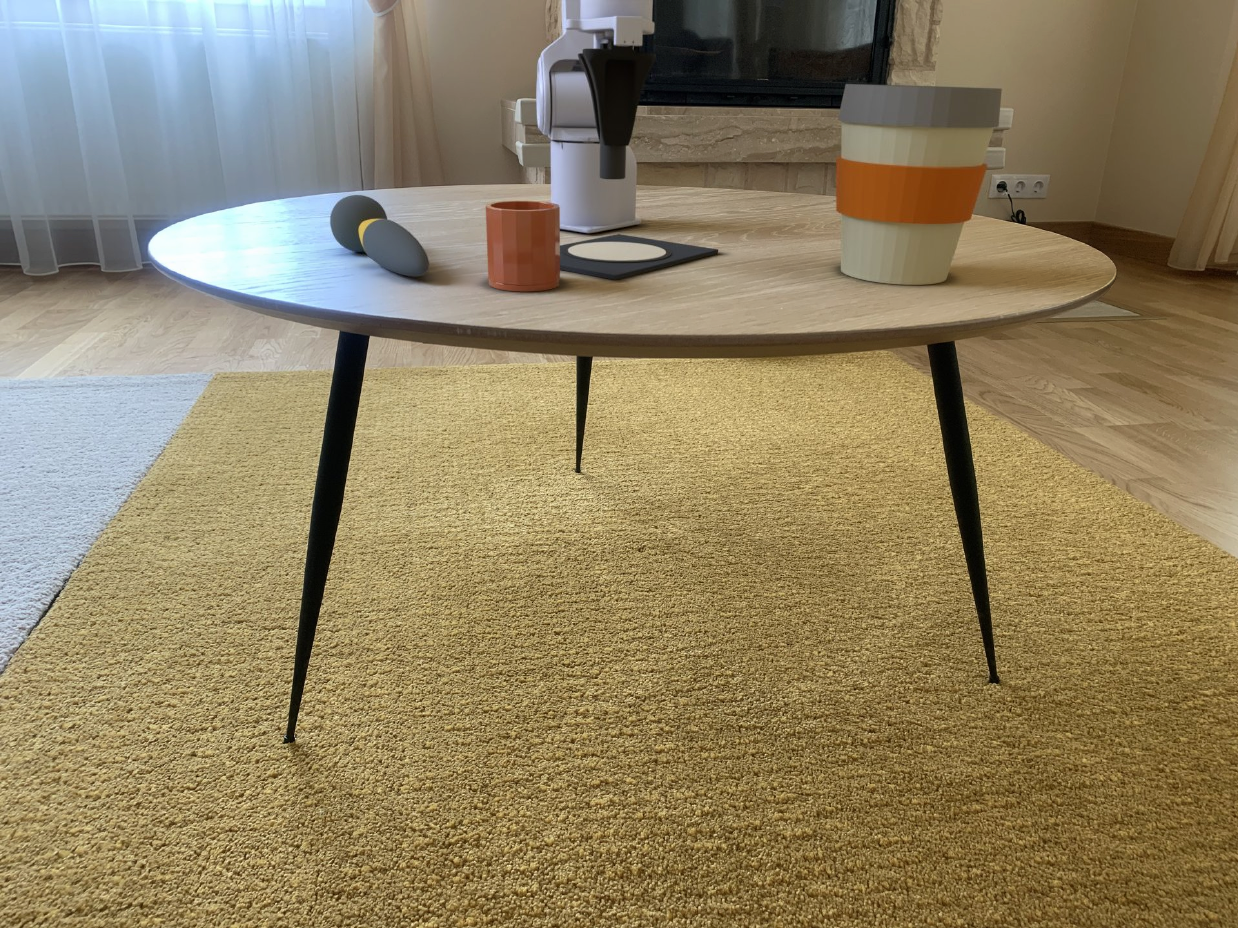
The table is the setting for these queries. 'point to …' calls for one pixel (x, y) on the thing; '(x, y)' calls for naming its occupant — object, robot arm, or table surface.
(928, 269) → the reusable coffee cup
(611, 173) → the marker
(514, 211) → the pen pot
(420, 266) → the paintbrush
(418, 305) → the table surface
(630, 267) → the dark grey rectangular pad
